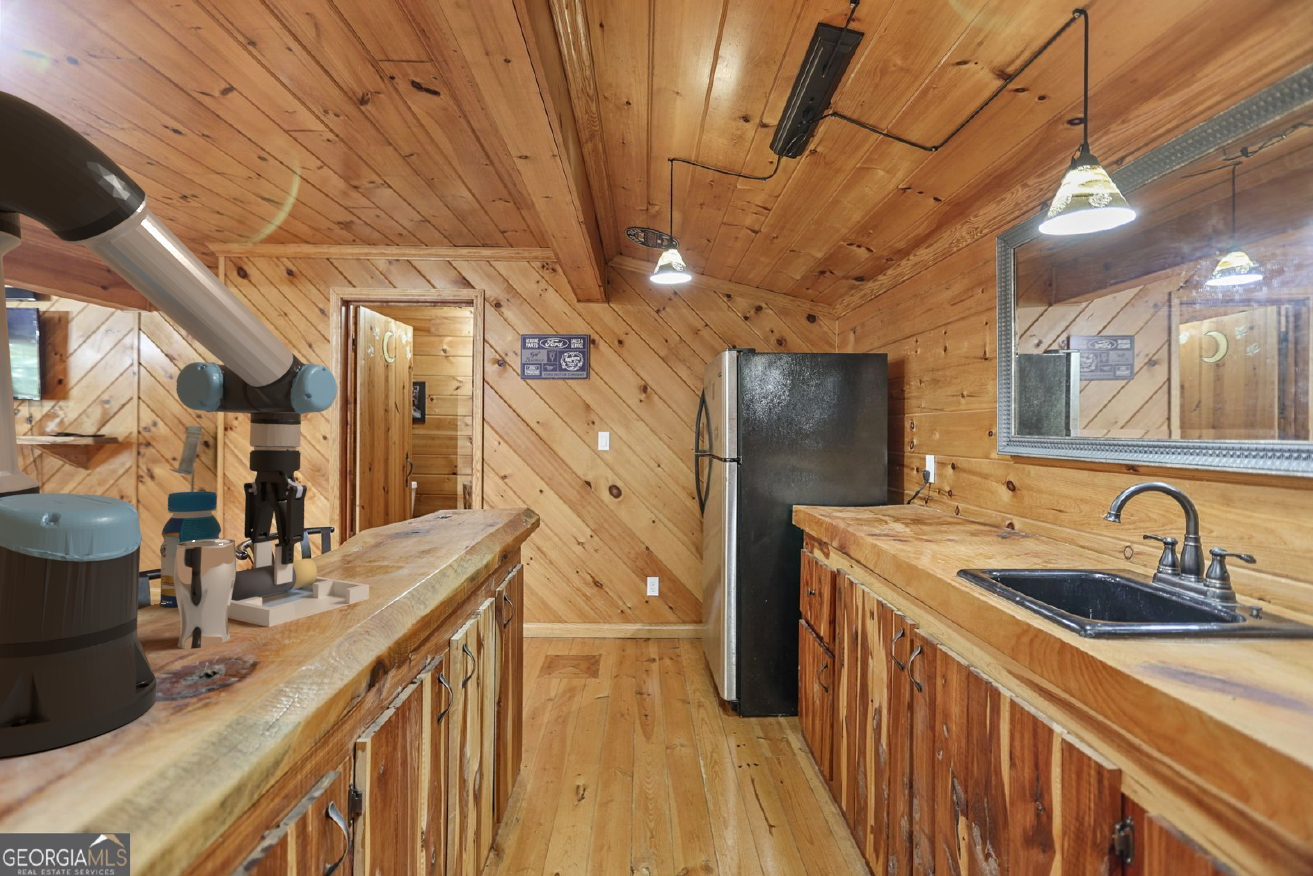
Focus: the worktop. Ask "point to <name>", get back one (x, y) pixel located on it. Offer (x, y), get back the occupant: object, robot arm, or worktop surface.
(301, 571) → the battery-shaped cylinder
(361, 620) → the worktop surface
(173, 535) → the beverage bottle
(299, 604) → the beige holder tray
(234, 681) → the worktop surface
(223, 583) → the beer glass
